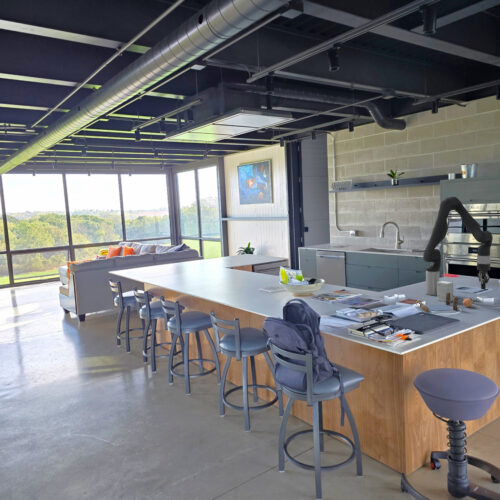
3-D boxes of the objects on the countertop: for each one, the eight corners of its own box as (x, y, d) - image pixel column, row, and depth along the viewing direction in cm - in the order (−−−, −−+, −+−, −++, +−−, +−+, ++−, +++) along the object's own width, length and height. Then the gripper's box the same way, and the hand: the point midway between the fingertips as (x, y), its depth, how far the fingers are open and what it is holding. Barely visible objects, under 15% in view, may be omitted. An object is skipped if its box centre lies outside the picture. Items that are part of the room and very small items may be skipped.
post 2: (452, 309, 275) (452, 297, 274) (456, 309, 275) (456, 297, 274) (453, 310, 273) (454, 298, 272) (458, 310, 273) (458, 298, 272)
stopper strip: (416, 304, 292) (416, 300, 292) (419, 304, 292) (419, 300, 291) (425, 312, 272) (425, 308, 272) (428, 312, 272) (428, 308, 272)
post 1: (445, 304, 288) (445, 292, 287) (449, 304, 288) (449, 292, 287) (446, 305, 285) (446, 293, 284) (450, 305, 285) (450, 293, 284)
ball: (461, 305, 282) (461, 297, 282) (470, 305, 282) (470, 297, 281) (464, 308, 277) (464, 299, 276) (473, 307, 276) (473, 299, 276)
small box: (453, 301, 295) (453, 282, 294) (447, 302, 292) (447, 283, 291) (442, 298, 302) (443, 280, 301) (436, 300, 299) (437, 281, 298)
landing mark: (423, 305, 288) (423, 304, 288) (443, 304, 287) (443, 304, 287) (430, 310, 275) (430, 310, 275) (451, 310, 274) (451, 309, 274)
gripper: (473, 261, 282) (472, 287, 284) (482, 264, 268) (481, 291, 271) (485, 260, 281) (484, 286, 283) (494, 263, 268) (494, 291, 270)
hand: (483, 289), depth 277 cm, fingers closed
